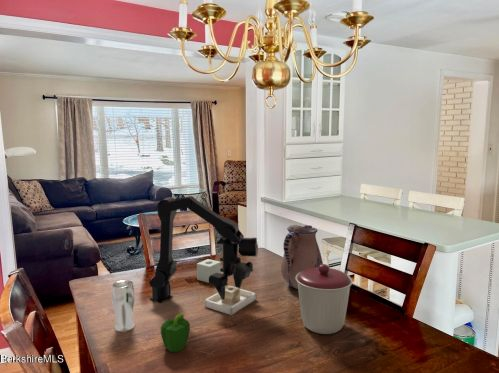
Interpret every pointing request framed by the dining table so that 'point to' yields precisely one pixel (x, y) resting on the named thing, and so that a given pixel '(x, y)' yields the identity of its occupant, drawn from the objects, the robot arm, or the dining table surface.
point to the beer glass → (123, 304)
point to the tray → (217, 304)
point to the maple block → (231, 295)
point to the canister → (323, 298)
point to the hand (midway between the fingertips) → (230, 295)
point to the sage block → (207, 269)
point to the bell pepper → (175, 333)
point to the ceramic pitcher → (299, 252)
